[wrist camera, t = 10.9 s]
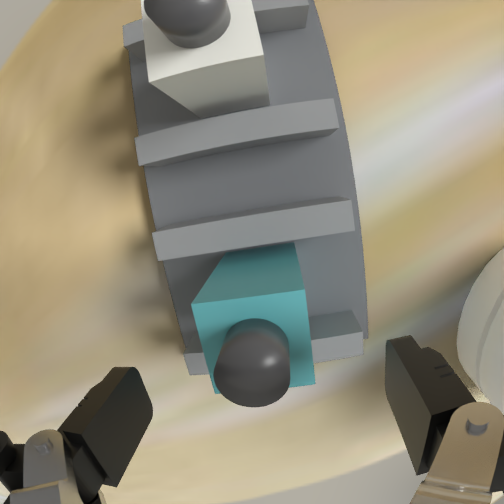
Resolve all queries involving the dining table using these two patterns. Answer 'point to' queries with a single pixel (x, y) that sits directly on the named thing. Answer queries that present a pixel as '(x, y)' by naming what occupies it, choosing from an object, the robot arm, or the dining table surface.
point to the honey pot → (485, 332)
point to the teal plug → (255, 325)
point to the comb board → (258, 181)
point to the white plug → (205, 54)
